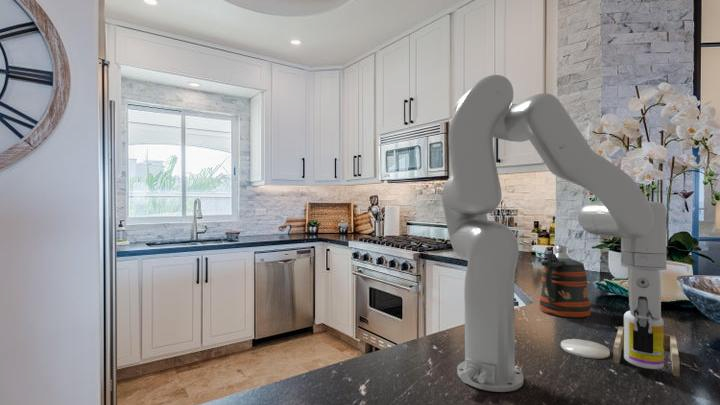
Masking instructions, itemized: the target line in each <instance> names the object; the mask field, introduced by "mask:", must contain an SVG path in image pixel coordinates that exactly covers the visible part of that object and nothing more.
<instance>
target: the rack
mask: <svg viewBox="0 0 720 405" xmlns="http://www.w3.org/2000/svg"><path fill="white" fill-rule="evenodd" d="M612 349H613V363H616V364H620V361H621V357H622V353H623V352H622V350H623V349H624V326H618V330H617V333H616V336H615V339H614V343H613V347H612ZM664 351H669V352H670V360H671V368H672V375H673V376H675V377H680V355H679V349H678V343H677V337H676V335H674V334H667V333H664Z"/></svg>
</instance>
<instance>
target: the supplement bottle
mask: <svg viewBox="0 0 720 405" xmlns="http://www.w3.org/2000/svg"><path fill="white" fill-rule="evenodd" d="M628 306H630V304H628ZM634 311H635V310H634ZM637 315H639V313H637ZM647 317H649V315H648V314H647ZM638 320H639V319H638ZM634 321H635V318H634V316H632V315H631V313H630V310H628V311H625V313H624V314H623V327H624V343H623V358H624V360H625V361H627V363H629V364H631V365H633V366H636V367H640V368H642V369H643V368H644V369H648V370H649V369H650V370H659V369H663V367H664V366H665V350H664V334H665V333H664V332H665V331H664V330H665V328H664V327H665V324H664V319H663V318H662V317H661V319H660V320H657V318H653V317H652V333H653V353H652V354H651V353H646V352H641V351H636V350H634V349H633V330H634Z"/></svg>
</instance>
